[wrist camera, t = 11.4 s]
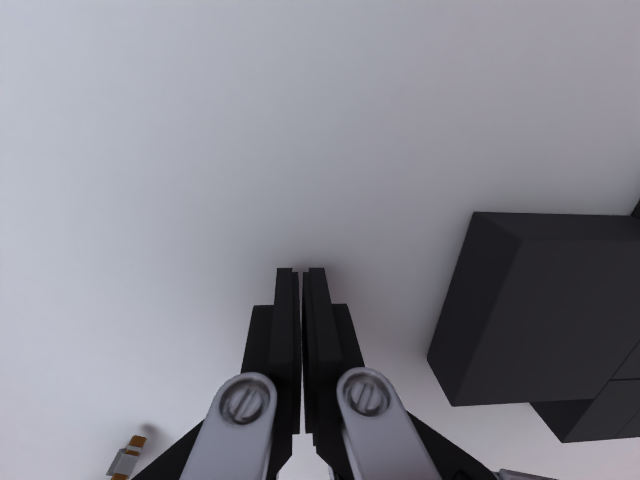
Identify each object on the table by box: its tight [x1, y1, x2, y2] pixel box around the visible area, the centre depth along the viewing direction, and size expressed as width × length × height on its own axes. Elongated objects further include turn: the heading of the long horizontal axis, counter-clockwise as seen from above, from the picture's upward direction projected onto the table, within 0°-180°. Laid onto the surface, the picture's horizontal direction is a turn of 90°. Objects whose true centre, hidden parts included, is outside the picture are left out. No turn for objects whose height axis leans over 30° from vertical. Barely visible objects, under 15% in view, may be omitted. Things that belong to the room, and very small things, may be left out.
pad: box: [427, 212, 640, 407], centre depth 11 cm, size 8×10×2 cm
